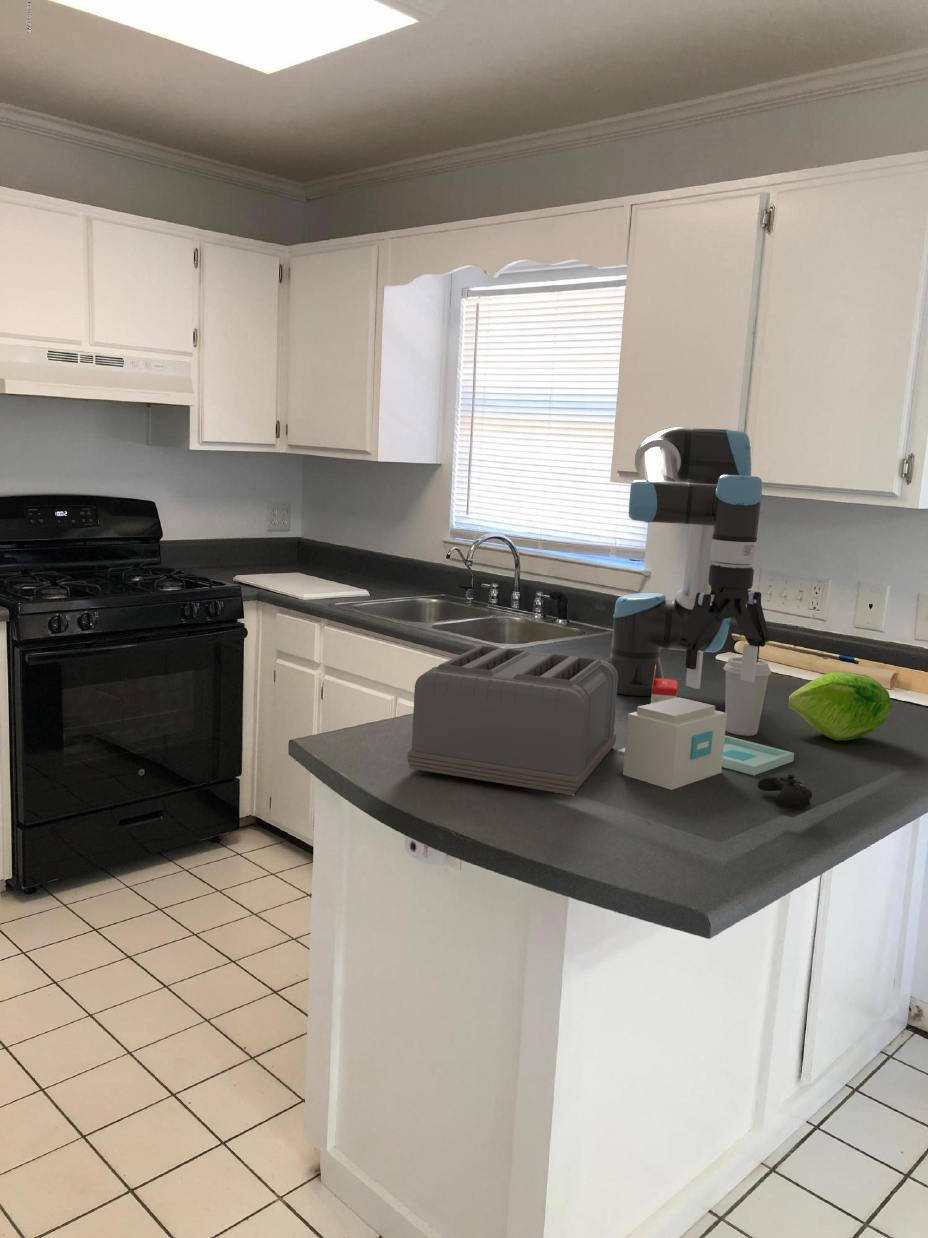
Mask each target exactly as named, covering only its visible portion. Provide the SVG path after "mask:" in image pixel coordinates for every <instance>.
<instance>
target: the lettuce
mask: <svg viewBox="0 0 928 1238" xmlns="http://www.w3.org/2000/svg"><path fill="white" fill-rule="evenodd" d="M788 708H789V709H790V710H791V711H794V712H796V713H797V714H799V715H800V716H801V717H802V719H804V720H805V721H806V722H807V723H808V724H809V725H810V726H811V727H813V728H814V729H816V730H817V732H820V733H821V734H822V735H823V736H825V737H827V738H829V739H831V740H833V741H835V742H837V741H838V742H839V741H840V742H841V741H851V740H854V739H860V738H863V737H864V736H867V735H868V734H871V733H873V732H874V731H875V730H877V728H879V727H880V726H881V725H882V724H883V723H885V722H886V720H887V719H888V716H889V714H890V712H891V710H892V708H893V703H892V700H891V696H890V692H889V691H888V690H887V689H886V688H885V687H884V686H883V685H882V684H881V683H880V682H879V681H877V680H875V679H874V678H872V677H870V676H867V675H866V674H865V675H864V674H860V673H854V672H848V671H847V672H846V671H832V672H828V673H825V674H824V675H821V676H820V677H816V678H814V679H812V680H811V681H809V682H807V683H805V684H804V685H802V686H801V687H799V688H798V689H797V690H795V691H794V692H792V693H791V694H790V695H789V697H788Z"/></svg>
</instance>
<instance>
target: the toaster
mask: <svg viewBox="0 0 928 1238" xmlns="http://www.w3.org/2000/svg"><path fill="white" fill-rule="evenodd" d="M608 662H609V661H607V660H606V661H605V660H601V659H598V658H590V657H583V656H574V655H565V654H555V653H549V654H546V653H541V652H540V653H537V652H529V651H528V650H524V649H523V650H522V649H514V648H506V647H495V646H488V645H478V646H477V647H474V648H472V649H470V650H468V651H466V652H463V653H461V654H459V655H458V656H455V657H453V658H451V659H449V660H447V661H444V662H442V663H441V664H439V665H438V666H435V667H432V668H431V669H429V670H427V671H426V672H424V673H423V674H421V675H420V676H418V678H417V679H416V681H415V683H414V691H413V692H414V693H413V710H412V711H413V712H412V713H413V715H412V716H413V717H412V731H411V733H412V735H411V736H412V737H411V749H410V750H408V751H407V757H406V758H407V759H406V760H407V764H408V766H409V768H410V769H411V770H417V771H423V772H429V773H434V774H442V775H447V776H448V775H449V776H454V777H461V778H466V779H471V780H472V779H473V780H478V781H483V782H491V783H496V784H501V785H502V784H503V785H507V786H515V787H520V788H521V787H522V788H526V789H527V788H528V789H532V790H539V791H546V792H551V793H558V794H564V795H570V796H572V795H575V793H577V791H578V790H579V788H580V787H581V786H583V784H584V782H585V781H586V780H587V779H588V777H589V776H590V775H591V774H592V773H593V771H595V769H596V768H597V767H598V766H599V765H600V763H601V762H602V761H603V759H604V758H605V757H606V756H607V754H608V753H609V752H610V751H611V750H612V749H613V747H614V746H615V744H616V740H617V739H616V738H617V734H616V733H615V724H616V723H615V722H616V721H615V720H616V710H617V709H616V708H617V697H618V693H617V686H618V673H617V670H616V669H615V667H614V666H613V665H612V664H610V663H608Z"/></svg>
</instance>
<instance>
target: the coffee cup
mask: <svg viewBox="0 0 928 1238" xmlns="http://www.w3.org/2000/svg"><path fill="white" fill-rule="evenodd" d="M742 657H743V656H742ZM742 657H740V656H739V657H734V656H733V657H729V658H728V659H727V662H726V663H725V664H724V666H723V671H725V698H724V699H725V703H724V704H725V706H724V707H725V711H724V713H727V719H726V729H725V732H728V733H729V734H732V735H739V736H755V735H757V734H758V731H759V725H760V721H761V716H762V715H761V714H762V711H763V706H764V705H763V704H764V700H765V696H766V695H765V694H766V689H767V685H768V679H769V675H771V674H772V670H771V668H770V666H769V662H767V661H766V660H762V659H759V658H758V662H757V663H756V673H755V682H753V683H751V682H748V681H744V680H741V679H740V677H741V667H742Z"/></svg>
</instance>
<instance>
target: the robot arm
mask: <svg viewBox="0 0 928 1238" xmlns="http://www.w3.org/2000/svg"><path fill="white" fill-rule="evenodd" d="M750 443H751V442H750V438H749V435H748V434H747V433H746V432H745V431H742V430H732V429H728V428H726V429H725V428H724V429H723V428H722V429H721V428H719V429H718V428H695V427H693V428H691V427H690V428H689V427H671V428H667V429H663V430H661V431H658V432H656V433H653V434H652V435H650V436H649V437H647V438H646V439H645V440H643V442H641V444H640V445H639V446H638V448H637V449H636V452H635V455H634V466H635V467H634V468H635V471H636V472H637V474H638V476H639V479H638V480H637V479H636V480H635V479H634V480H633V481H632V482H631V484H630V490H629V502H628V518H630V519H631V520H632V521H636V522H637V521H638V522H645V523H663V524H679V525H680V524H682V525H689V534H688V543H687V551H686V556H685V557H686V559H685V567H684V576H683V582H682V583H683V584H682V585H683V586H682V588H681V589H679V590H678V591H677V592H676V593H675V595H674V600H668V599H667V597H666V595H665V594H664V593H661V592H660V593H659V592H658V593H657V592H655V593H654V592H640V593H639V592H638V593H631V594H626V595H625V594H624V595H622V596H620V597H618V598H617V600H616V601H615V605H614V614H613V615H612V618H613V628H612V640H611V649H610V650H611V652H610V657H609V660H608V661H607V662H608V663H610V664H612V665H613V666H614V667H615V669H616V670H617V673H618V686H617V694H618V695H619V694H620V695H626V696H636V697H651V695H652V685H653V677H654V669H655V664H656V673H655V678H657V679H665V678H664V673H663V668H662V663H661V649H662V650H674V651H684V652H685V651H686V655H685V668H686V676H685V677H686V678H685V686H687V687H689V688H693V689H698V690H699V689H701V682H702V681H701V680H702V669H703V661H704V660H703V659H704V658H703V657H704V653H717V652H719V651H720V650H722V649H723V647H724V645H725V643H726V640H727V637H728V634H729V630H730V622H731V619H732V618H733V619H734V620H735V621H736V623H737V626H738V627H739V628H740V631H741V632H742V634H743V636H744V638H745V640H746V642H747V643H745V644H743V647H742V667H741V677H740V679H741V680H744V681H748V682H751V683H753V682H755V673H756V663H757V662H758V659H759V656H760V648H764V647H765V646H766V643H767V642H769V641H770V634H769V631H768V626H767V622H766V618H765V615H764V614H765V613H764V611H763V605H762V592H761V591H755V590H750V589H752V587H753V586H754V584H753V583H754V573H755V569H754V568H753V567H752V565H755V561H756V550H757V542H758V529H759V520H760V513H761V504H762V499H763V494H762V491H763V481H762V480H763V479H762V478H761V477H759V476H756V475H755V476H754V475H752V457H751V456H752V454H751V444H750Z"/></svg>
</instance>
